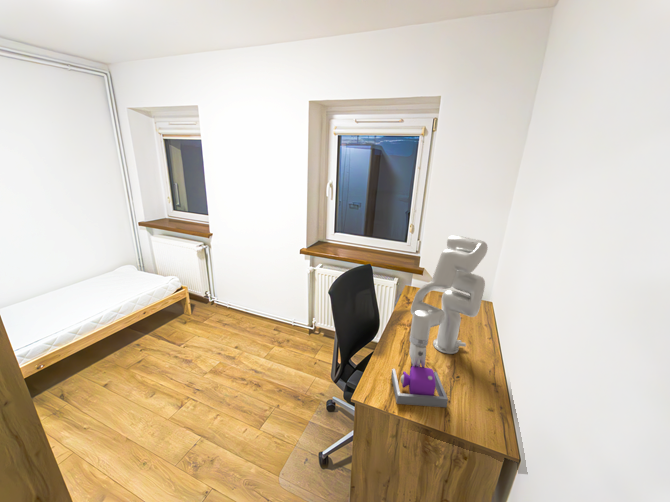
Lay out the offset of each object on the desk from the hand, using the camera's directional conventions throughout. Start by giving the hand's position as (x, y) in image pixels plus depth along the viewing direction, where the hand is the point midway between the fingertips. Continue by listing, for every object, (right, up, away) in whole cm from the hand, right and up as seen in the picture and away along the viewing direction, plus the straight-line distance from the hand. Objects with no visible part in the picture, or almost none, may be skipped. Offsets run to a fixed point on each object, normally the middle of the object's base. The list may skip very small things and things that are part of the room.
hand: (413, 374), depth 126 cm
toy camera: (-1, -4, -7) cm, 8 cm away
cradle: (0, -4, -6) cm, 7 cm away
